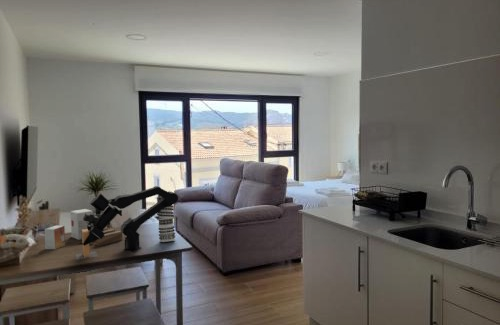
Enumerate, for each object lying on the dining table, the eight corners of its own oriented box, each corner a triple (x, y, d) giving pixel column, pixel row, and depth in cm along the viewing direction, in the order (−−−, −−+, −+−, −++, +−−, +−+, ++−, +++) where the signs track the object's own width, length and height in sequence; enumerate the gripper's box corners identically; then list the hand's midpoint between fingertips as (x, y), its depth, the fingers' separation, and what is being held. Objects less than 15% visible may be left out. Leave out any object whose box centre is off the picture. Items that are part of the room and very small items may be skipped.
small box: (54, 250, 188) (53, 229, 187) (45, 249, 189) (44, 228, 188) (65, 245, 196) (64, 225, 195) (56, 244, 197) (55, 225, 196)
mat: (95, 252, 184) (95, 251, 184) (97, 257, 176) (97, 256, 176) (75, 255, 180) (75, 254, 180) (76, 260, 172) (76, 259, 172)
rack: (122, 240, 204) (122, 231, 204) (99, 246, 193) (98, 237, 192) (105, 235, 213) (104, 227, 213) (81, 241, 202) (81, 232, 202)
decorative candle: (155, 242, 198) (151, 195, 199) (163, 239, 207) (160, 194, 208) (171, 241, 196) (167, 193, 197) (178, 238, 205) (175, 192, 206)
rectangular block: (88, 253, 181) (87, 228, 180) (89, 256, 176) (88, 231, 175) (83, 254, 180) (81, 229, 179) (84, 257, 175) (83, 232, 174)
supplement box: (71, 237, 212) (69, 210, 210) (86, 233, 218) (85, 208, 217) (77, 240, 206) (76, 213, 204) (93, 236, 212) (92, 210, 211)
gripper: (91, 203, 186) (67, 228, 182) (95, 210, 170) (69, 237, 165) (108, 217, 190) (86, 242, 186) (114, 225, 174) (89, 252, 170)
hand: (82, 243), depth 177 cm, fingers open, 7 cm apart
